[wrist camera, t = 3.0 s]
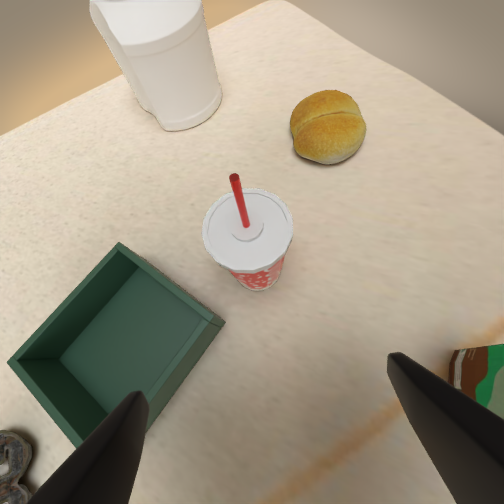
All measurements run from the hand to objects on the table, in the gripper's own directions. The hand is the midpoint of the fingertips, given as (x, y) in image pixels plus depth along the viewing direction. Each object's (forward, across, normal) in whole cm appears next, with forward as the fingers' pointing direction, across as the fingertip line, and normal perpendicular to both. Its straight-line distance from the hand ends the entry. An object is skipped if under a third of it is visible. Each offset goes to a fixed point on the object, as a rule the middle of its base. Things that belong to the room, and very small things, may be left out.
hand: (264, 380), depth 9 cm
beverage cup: (+16, 0, +4) cm, 16 cm away
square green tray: (+12, +12, +7) cm, 18 cm away
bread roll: (+26, -10, -7) cm, 29 cm away
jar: (+34, +7, -15) cm, 38 cm away
